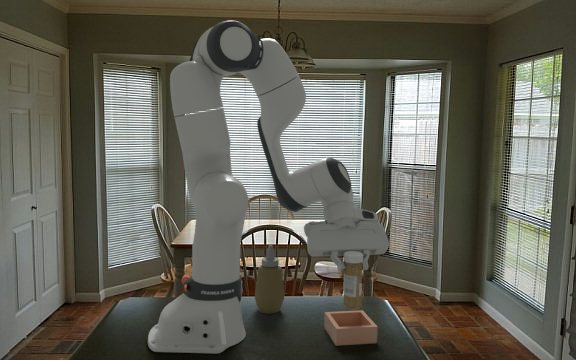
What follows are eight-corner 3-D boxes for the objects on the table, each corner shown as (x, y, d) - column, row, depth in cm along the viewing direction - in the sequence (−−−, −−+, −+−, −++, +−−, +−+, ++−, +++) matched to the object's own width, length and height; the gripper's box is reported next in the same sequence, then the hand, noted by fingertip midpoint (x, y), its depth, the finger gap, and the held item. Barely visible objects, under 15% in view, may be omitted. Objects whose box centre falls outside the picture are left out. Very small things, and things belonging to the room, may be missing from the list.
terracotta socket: (335, 345, 107) (336, 328, 107) (324, 327, 117) (324, 312, 116) (376, 343, 109) (377, 326, 109) (362, 325, 119) (362, 310, 118)
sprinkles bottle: (365, 307, 112) (367, 253, 110) (351, 312, 109) (353, 256, 108) (352, 301, 116) (353, 249, 114) (338, 306, 113) (339, 252, 111)
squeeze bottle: (248, 309, 128) (249, 244, 126) (271, 302, 133) (272, 240, 131) (266, 318, 122) (268, 251, 120) (289, 311, 127) (291, 246, 125)
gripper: (304, 214, 115) (313, 264, 106) (383, 213, 119) (397, 261, 110) (300, 228, 120) (308, 277, 111) (376, 226, 124) (389, 274, 115)
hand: (353, 269), depth 111 cm, fingers closed on sprinkles bottle, 4 cm apart
